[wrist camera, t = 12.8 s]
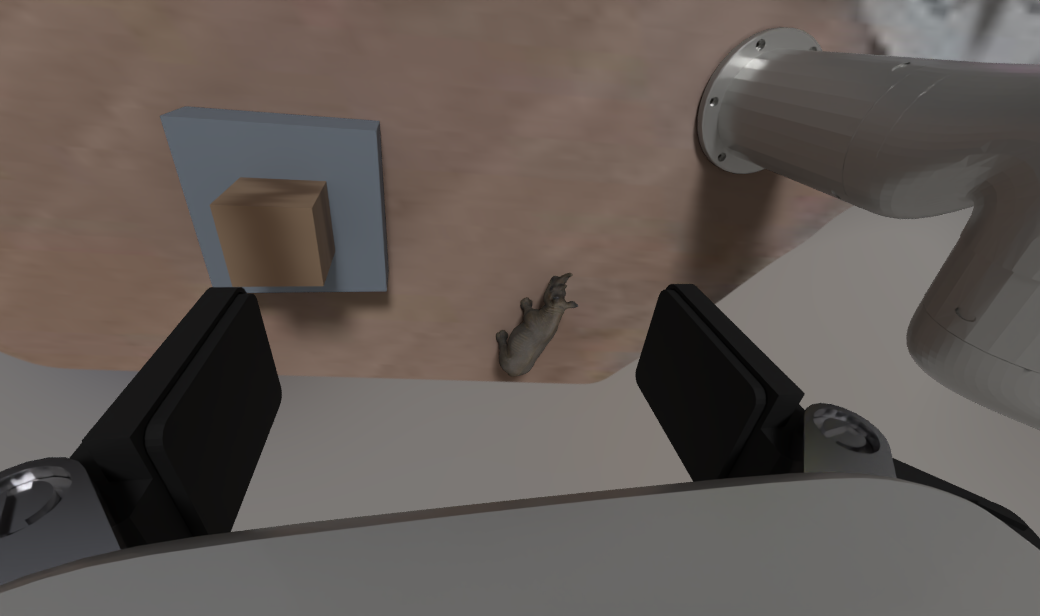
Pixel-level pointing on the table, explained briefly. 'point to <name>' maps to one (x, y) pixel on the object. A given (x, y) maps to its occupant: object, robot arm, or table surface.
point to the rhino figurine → (533, 329)
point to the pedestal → (295, 156)
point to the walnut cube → (275, 232)
